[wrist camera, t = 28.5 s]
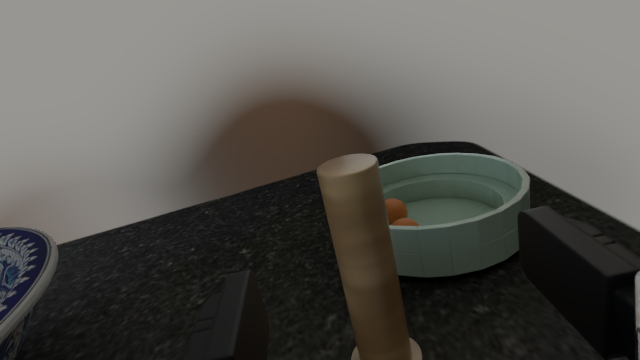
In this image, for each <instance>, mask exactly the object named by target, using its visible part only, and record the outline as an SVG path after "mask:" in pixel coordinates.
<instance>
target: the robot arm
mask: <svg viewBox="0 0 640 360" xmlns="http://www.w3.org/2000/svg"><path fill="white" fill-rule="evenodd" d="M517 223H518V240H519V257H520V263H521V266H522V269H523V271H524V273H525V275H526V276H527V278H528V279H529V280H530V281H531V282H532V283H533V284H534V285H535V286H536V288H537V289H538V290H539V291H540V292H541V293H542V294H543V295H544V296H545V297H546V298H547V299H548V300H549V301H550V302H551V303H552V304H553V305H554V307H555V308H556V309H557V310H558V311H559V312H560V313H561V314H562V315H563V316H564V317H565V318H566V319H567V320H568V321H569V322H570V323H571V325H572V326H573V327H574V328H575V329H576V330H577V331H578V332H579V333H580V334H581V335H582V336H583V337H584V338H585V339H586V340H587V341H588V342H589V344H590V345H591V346H592V347H593V348H594V349H595V350H596V351H597V352H598V353H599V354H600V355H601V356H602V357H603V358H604V359H605V360H609V359H613V358H618V357H623V356H626V357H627V358H628V359H629V360H640V257H639V256H638V255H636V254H635V253H633V252H631V251H630V250H628V249H627V248H625V247H624V246H622V245H621V244H619V243H615V240H613V239H611V238H610V237H608V236H607V235H604V234H603V233H602V232H601V231H599V230H598V229H596V228H595V227H593V226H591V225H590V224H587V223H584V222H581V221H578V220H575V219H572V218H568V219H566V218H565V217H563V216H562V215H560V214H559V213H557V212H556V211H554V210H553V209H551V208H550V207H548V206H543V207H538V208H534V209H529V210H525V211H521V212H519V214H518V218H517ZM268 338H269V324H268V317H267V313H266V309H265V306H264V303H263V300H262V297H261V294H260V290H259V287H258V284H257V281H256V278H255V275H254V272H253V271H252V270H246V271H242V272H237V273H233V274H228V275H226V278H225V281H224V285H223V288H222V291H221V293H219V294H214V295H211V297H210V298H209V299H208V300H207V301H206V302H205V304H204V305H203V306H202V307H201V309H200V312H199V315H198V318H197V323H196V324H195V327H194V329H193V333H192V335H191V338H190V341H189V344H188V347H187V349H186V352H185V355H184V358H183V360H267V349H268Z"/></svg>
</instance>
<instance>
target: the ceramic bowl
mask: <svg viewBox="0 0 640 360" xmlns="http://www.w3.org/2000/svg"><path fill="white" fill-rule="evenodd" d="M57 263H58V249H57V245H56V243H55V241H54V240H53V239H52V238H51V237H50V236H49V235H48V234H46V233H44V232H42V231H40V230H37V229H32V228H23V227H8V228H0V360H15V358H16V356H17V354H18V352H19V350H20V348H21V346H22V343H23V341H24V338H25V335H26V332H27V329H28V326H29V323H30V320H31V316H32V311H33V306H34V305H35V304H36V302H37V301H38V300H39V299H40V297H41V296H42V294H43V292H44V291H45V289H46V288H47V286H48V285H49V283H50V281H51V279H52V277H53V275H54V273H55V270H56V267H57Z"/></svg>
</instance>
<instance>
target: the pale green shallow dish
mask: <svg viewBox="0 0 640 360" xmlns="http://www.w3.org/2000/svg"><path fill="white" fill-rule="evenodd" d="M379 170H380V176H381V181H382V187H383V193H384V198H385V200H386V199H390V198H395V199H398V200H400V201H402V202H403V203H404V204H405V206H406V208H407V211H408V216H407V218H408V219H412V220H414V221H415V222H417V223H418V224H419V226H392V225H389V227H390V232H391V238H392V244H393V249H394V255H395V261H396V266H397V272H398V275H402V276H413V277H425V278H426V277H442V276H453V275H459V274H464V273H468V272H473V271H478V270H481V269H485V268H487V267H490V266H492V265H495V264H497V263H499V262H502V261H504V260H506V259H508V258H509V257H510V256H512V255H513V254H514V253H516V252H517V251H519V240H518V223H517V218H518V214H519V212H521V211H525V210H529V209H532V208H531V186H530V177H529V176H528V174H527V173H526V171H525V170H524V169H523V168H522V167H520V166H519V165H517V164H515V163H513V162H512V161H508V160H505V159H502V158H499V157H495V156H489V155H482V154H472V153H444V154H432V155H424V156H417V157H412V158H407V159H403V160H398V161H394V162H391V163H388V164H385V165H382V166H379Z"/></svg>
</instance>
